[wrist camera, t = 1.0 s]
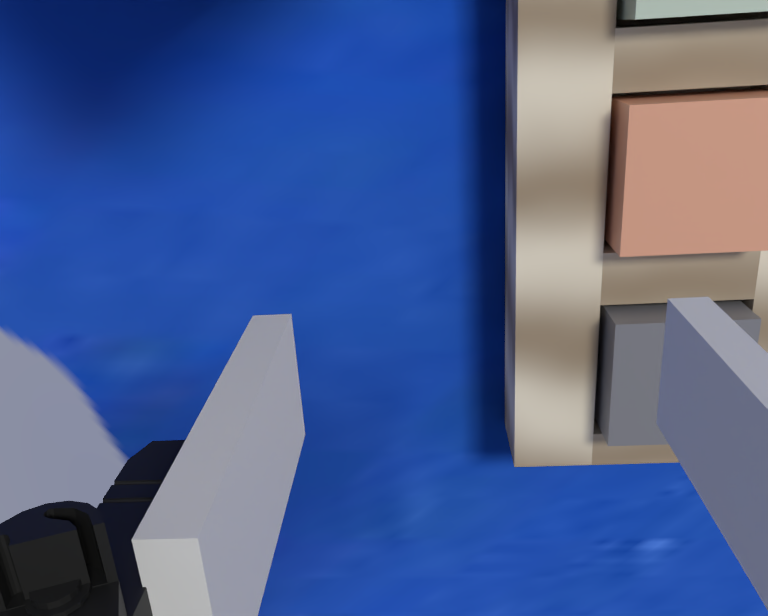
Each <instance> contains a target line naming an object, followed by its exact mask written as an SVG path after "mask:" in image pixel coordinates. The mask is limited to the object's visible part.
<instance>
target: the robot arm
mask: <svg viewBox="0 0 768 616" xmlns="http://www.w3.org/2000/svg"><path fill="white" fill-rule="evenodd" d="M656 424H657V425H658V427H659V429H660V430H661V432H662V434H663V435H664V437H665V439H666V440H667V442H668V444H669V445H670V447H671V449H672V450H673V452H674V454H675V455H676V457H677V459H678V461H679V462H680V464H681V466H682V467H683V469H684V471H685V472H686V474H687V476H688V477H689V479H690V481H691V482H692V484H693V486H694V487H695V489H696V491H697V492H698V494H699V496H700V497H701V499H702V501H703V502H704V504H705V506H706V507H707V509H708V511H709V513H710V514H711V516H712V518H713V519H714V521H715V523H716V524H717V526H718V528H719V529H720V531H721V533H722V534H723V536H724V538H725V539H726V541H727V543H728V544H729V546H730V548H731V549H732V551H733V553H734V554H735V556H736V558H737V560H738V561H739V563H740V565H741V566H742V568H743V570H744V571H745V573H746V575H747V576H748V578H749V580H750V581H751V583H752V585H753V586H754V588H755V590H756V591H757V593H758V595H759V596H760V598H761V600H762V601H763V603H764V605H765V607H766V608H767V610H768V353H767V352H766V351H765V350H764V349H763V348H762V347H761V346H760V345H759V344H758V343H757V342H756V341H754V340H753V339H752V338H751V337H750V336H749V335H748V334H747V333H746V332H745V331H744V330H743V329H742V328H741V327H740V326H739V325H738V324H737V323H736V322H734V321H733V320H732V319H731V318H730V317H729V316H728V315H727V314H726V313H725V312H724V311H723V310H722V309H721V308H720V307H719V306H718V305H717V304H716V303H714V302H713V301H712V300H711V299H710V298H709V297H692V298H668V300H667V311H666V322H665V333H664V344H663V355H662V366H661V377H660V388H659V399H658V410H657V421H656ZM304 437H305V428H304V419H303V411H302V402H301V394H300V385H299V377H298V368H297V360H296V351H295V342H294V334H293V325H292V317H291V314H281V315H257V316H253V317H252V318H251V320H250V322H249V324H248V326H247V328H246V329H245V331H244V333H243V335H242V337H241V339H240V341H239V342H238V344H237V346H236V348H235V350H234V352H233V353H232V355H231V357H230V359H229V361H228V363H227V365H226V366H225V368H224V370H223V372H222V374H221V376H220V377H219V379H218V381H217V383H216V385H215V387H214V388H213V390H212V392H211V394H210V396H209V398H208V400H207V401H206V403H205V405H204V407H203V409H202V411H201V412H200V414H199V416H198V418H197V420H196V422H195V424H194V425H193V427H192V429H191V431H190V433H189V435H188V436H187V438H186V440H173V441H152V442H151V443H150V444H148V445H147V446H146V447H144V448H143V449H142V450H140V451H139V452H138V453H136V454H135V455H134V456H132V457H131V458H130V459H129V460H128V461H127V462H126V464H125V466H124V467H123V469H122V470H121V472H120V473H119V475H118V476H117V478H116V479H115V484H114V485H112V486H111V487H110V489H109V490H108V492H107V493H106V495H105V496H104V498H103V503H100V504H99V506H98V507H97V509H96V508H95V507H93V506H91V505H90V504H88V503H82V502H74V501H64V502H56V503H48V504H44V505H41V506H38V507H35V508H32V509H29V510H26V511H23V512H21V513H19V514H17V515H15V516H14V517H12V518H10V519H9V520H6V521H5V522H3V523H1V524H0V616H258V612H259V608H260V605H261V601H262V597H263V593H264V589H265V586H266V582H267V578H268V574H269V570H270V567H271V563H272V559H273V555H274V551H275V548H276V544H277V540H278V536H279V532H280V528H281V525H282V521H283V517H284V513H285V509H286V506H287V502H288V498H289V494H290V490H291V487H292V483H293V479H294V475H295V471H296V468H297V464H298V460H299V456H300V452H301V448H302V445H303V441H304Z"/></svg>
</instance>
